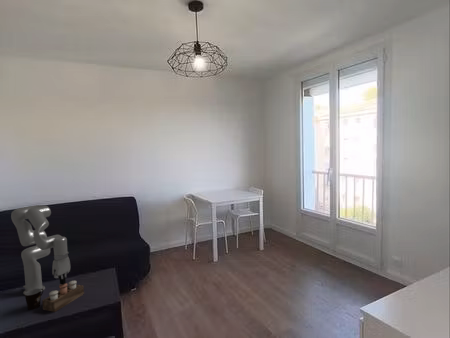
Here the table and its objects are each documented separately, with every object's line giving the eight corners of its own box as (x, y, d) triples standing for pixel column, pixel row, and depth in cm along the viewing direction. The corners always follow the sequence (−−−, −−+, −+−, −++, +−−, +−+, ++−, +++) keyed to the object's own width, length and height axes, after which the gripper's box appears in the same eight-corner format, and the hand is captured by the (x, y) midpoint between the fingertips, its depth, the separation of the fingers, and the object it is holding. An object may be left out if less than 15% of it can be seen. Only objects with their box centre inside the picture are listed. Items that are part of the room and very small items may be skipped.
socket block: (43, 309, 173) (42, 300, 172) (72, 292, 193) (72, 283, 193) (55, 312, 169) (54, 302, 169) (84, 294, 190) (83, 285, 190)
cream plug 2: (67, 294, 186) (66, 283, 186) (73, 291, 191) (72, 280, 190) (73, 295, 185) (72, 284, 184) (79, 292, 189) (78, 280, 189)
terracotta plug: (58, 298, 180) (57, 286, 179) (64, 294, 184) (63, 282, 184) (63, 299, 178) (62, 287, 178) (70, 295, 183) (69, 283, 182)
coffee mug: (29, 312, 170) (28, 296, 169) (23, 308, 174) (21, 293, 174) (49, 303, 180) (48, 288, 179) (43, 300, 184) (42, 285, 184)
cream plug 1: (48, 306, 173) (47, 293, 173) (55, 302, 178) (54, 289, 177) (54, 307, 172) (53, 294, 171) (60, 303, 176) (59, 290, 176)
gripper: (66, 251, 188) (68, 278, 189) (46, 260, 174) (47, 288, 175) (75, 252, 186) (76, 279, 187) (54, 261, 172) (56, 290, 173)
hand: (62, 283), depth 181 cm, fingers closed
